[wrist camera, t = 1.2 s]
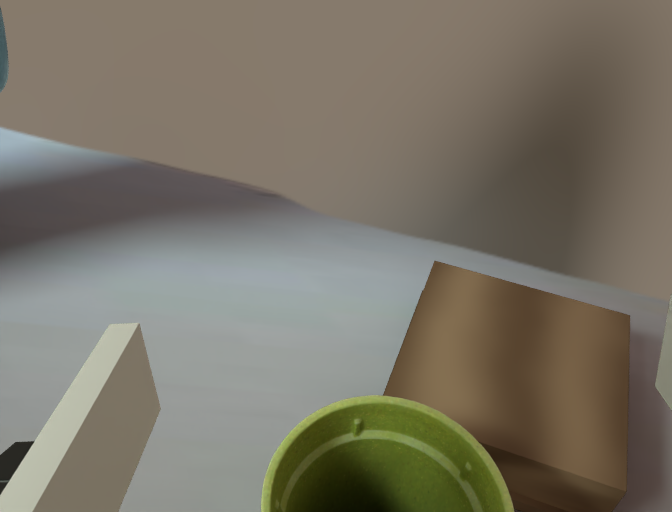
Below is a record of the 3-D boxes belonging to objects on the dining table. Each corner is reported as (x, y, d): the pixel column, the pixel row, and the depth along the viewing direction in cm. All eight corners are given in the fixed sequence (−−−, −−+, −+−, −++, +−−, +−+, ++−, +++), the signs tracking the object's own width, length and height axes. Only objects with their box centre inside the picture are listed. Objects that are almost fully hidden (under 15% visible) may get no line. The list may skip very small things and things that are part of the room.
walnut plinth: (362, 454, 35) (369, 411, 32) (420, 298, 44) (430, 255, 41) (605, 541, 32) (635, 502, 29) (613, 355, 41) (637, 312, 38)
